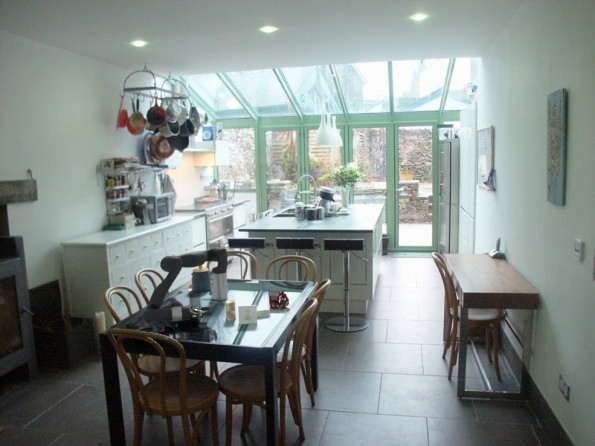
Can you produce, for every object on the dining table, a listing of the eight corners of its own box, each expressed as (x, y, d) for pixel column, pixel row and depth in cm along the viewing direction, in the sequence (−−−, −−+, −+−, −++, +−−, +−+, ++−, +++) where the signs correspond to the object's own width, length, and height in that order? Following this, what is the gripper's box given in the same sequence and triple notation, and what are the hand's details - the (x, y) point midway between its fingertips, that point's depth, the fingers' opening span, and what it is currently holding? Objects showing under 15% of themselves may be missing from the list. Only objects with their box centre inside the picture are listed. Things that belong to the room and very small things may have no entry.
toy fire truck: (287, 309, 294) (287, 292, 293) (267, 309, 296) (266, 292, 294) (289, 306, 301) (289, 289, 299) (269, 305, 303) (269, 289, 301)
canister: (195, 287, 349) (194, 262, 346) (213, 287, 347) (212, 262, 345) (189, 292, 336) (187, 266, 334) (207, 292, 334) (206, 267, 332)
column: (227, 320, 276) (227, 303, 275) (226, 318, 280) (225, 301, 279) (235, 319, 277) (235, 302, 276) (234, 317, 281) (233, 300, 280)
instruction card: (238, 324, 269) (238, 306, 268) (238, 322, 272) (238, 304, 271) (257, 323, 270) (256, 305, 269) (257, 321, 273) (256, 304, 272)
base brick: (256, 318, 280) (256, 311, 280) (252, 314, 288) (252, 307, 287) (269, 316, 283) (269, 309, 283) (265, 312, 291) (265, 305, 290)
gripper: (181, 310, 263) (211, 307, 267) (179, 303, 276) (208, 300, 281) (181, 324, 264) (212, 320, 268) (180, 316, 277) (209, 313, 282)
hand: (210, 310), depth 275 cm, fingers open, 8 cm apart
